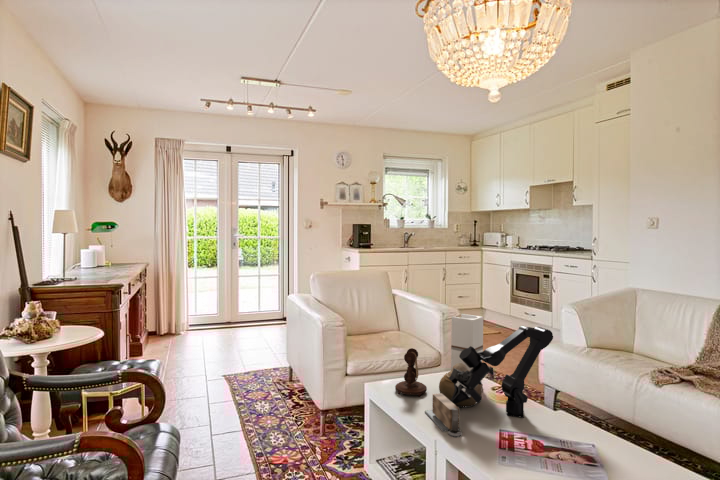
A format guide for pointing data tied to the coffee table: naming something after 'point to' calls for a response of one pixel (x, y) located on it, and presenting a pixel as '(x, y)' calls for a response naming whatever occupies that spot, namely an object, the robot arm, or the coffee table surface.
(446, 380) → the brown round pot
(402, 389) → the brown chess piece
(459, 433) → the hinge base
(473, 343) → the white square post
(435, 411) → the block
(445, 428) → the label board
